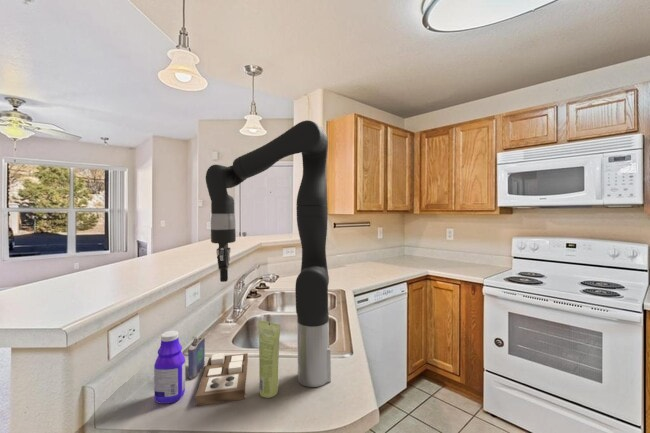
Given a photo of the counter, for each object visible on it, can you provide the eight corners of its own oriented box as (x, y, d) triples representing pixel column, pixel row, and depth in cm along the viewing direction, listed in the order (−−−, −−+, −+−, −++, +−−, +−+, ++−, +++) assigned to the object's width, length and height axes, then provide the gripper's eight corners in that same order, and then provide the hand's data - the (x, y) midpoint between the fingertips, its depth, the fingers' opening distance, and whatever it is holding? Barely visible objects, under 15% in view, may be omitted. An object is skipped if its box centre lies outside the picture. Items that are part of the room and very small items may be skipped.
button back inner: (243, 362, 94) (243, 354, 94) (242, 368, 91) (242, 360, 91) (231, 363, 94) (231, 356, 94) (230, 369, 90) (230, 361, 90)
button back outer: (224, 360, 93) (224, 352, 93) (223, 366, 90) (223, 358, 90) (212, 361, 92) (212, 354, 92) (211, 367, 89) (210, 359, 89)
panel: (247, 360, 96) (247, 352, 96) (244, 398, 76) (244, 387, 76) (209, 365, 93) (209, 356, 93) (195, 405, 74) (195, 394, 74)
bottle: (189, 391, 80) (188, 328, 79) (179, 404, 74) (178, 337, 74) (162, 391, 80) (161, 329, 79) (150, 405, 74) (149, 338, 74)
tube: (279, 385, 82) (278, 317, 82) (281, 396, 77) (280, 324, 77) (258, 388, 81) (258, 319, 80) (259, 400, 76) (258, 326, 75)
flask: (195, 379, 85) (194, 343, 85) (185, 379, 85) (184, 343, 85) (206, 363, 95) (205, 330, 94) (197, 363, 94) (196, 331, 94)
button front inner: (242, 368, 88) (242, 360, 88) (241, 375, 85) (241, 367, 85) (229, 370, 87) (229, 362, 87) (228, 377, 84) (228, 368, 84)
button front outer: (222, 375, 87) (222, 367, 87) (220, 382, 83) (220, 373, 83) (209, 377, 86) (209, 368, 86) (207, 384, 83) (207, 375, 83)
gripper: (233, 228, 88) (234, 285, 88) (236, 226, 100) (237, 276, 101) (207, 229, 86) (208, 287, 86) (213, 227, 99) (214, 277, 99)
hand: (224, 281), depth 93 cm, fingers closed
